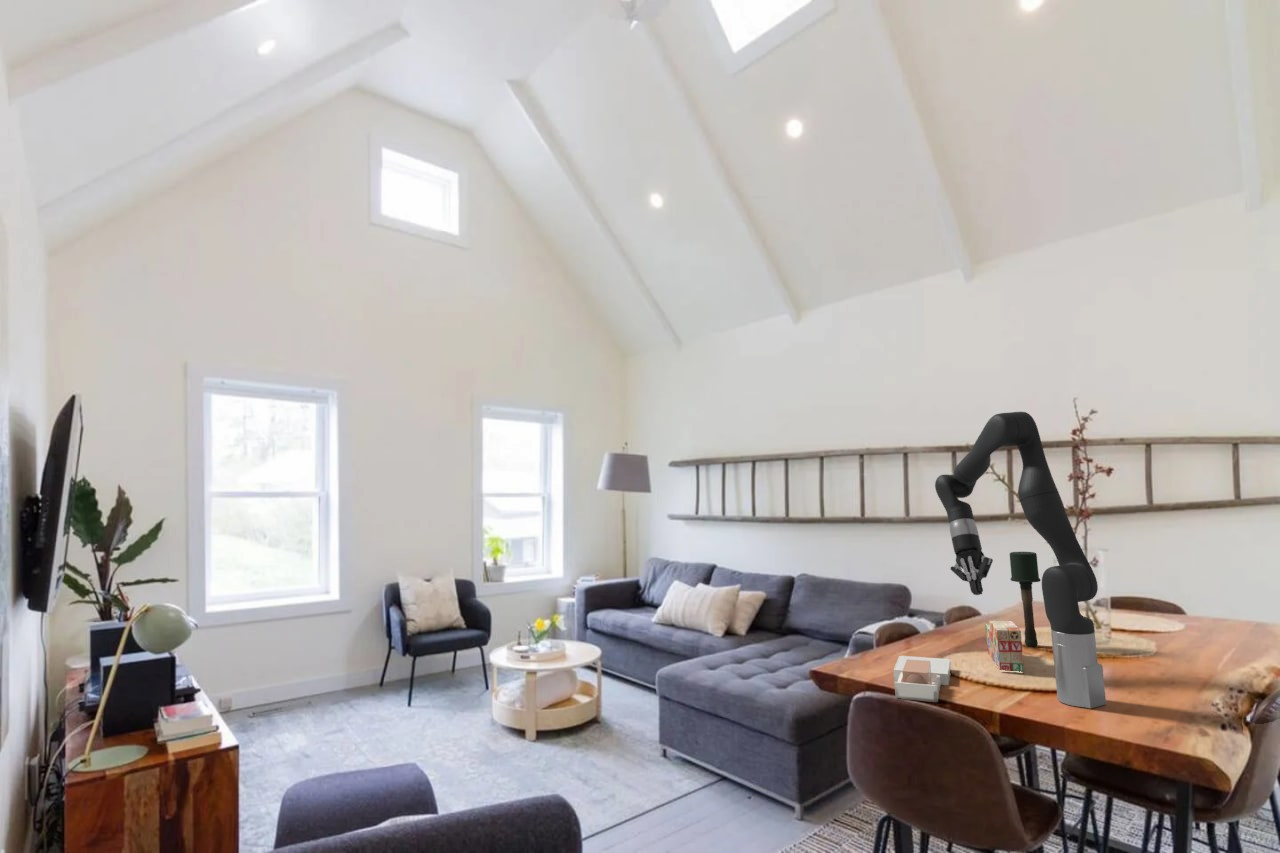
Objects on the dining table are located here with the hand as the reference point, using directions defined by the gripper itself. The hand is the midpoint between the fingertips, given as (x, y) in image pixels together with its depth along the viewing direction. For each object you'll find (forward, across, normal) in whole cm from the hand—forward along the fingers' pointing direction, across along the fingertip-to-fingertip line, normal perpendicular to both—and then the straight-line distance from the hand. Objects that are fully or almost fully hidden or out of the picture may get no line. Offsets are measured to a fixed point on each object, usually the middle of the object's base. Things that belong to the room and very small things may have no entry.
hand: (977, 594), depth 193 cm
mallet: (+8, -13, +43) cm, 45 cm away
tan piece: (+21, -12, -16) cm, 29 cm away
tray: (+27, -10, -20) cm, 35 cm away
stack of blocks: (+16, -9, +20) cm, 27 cm away
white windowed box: (+21, -17, -8) cm, 28 cm away
